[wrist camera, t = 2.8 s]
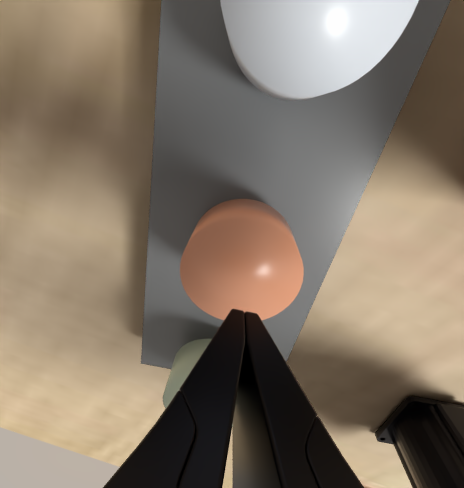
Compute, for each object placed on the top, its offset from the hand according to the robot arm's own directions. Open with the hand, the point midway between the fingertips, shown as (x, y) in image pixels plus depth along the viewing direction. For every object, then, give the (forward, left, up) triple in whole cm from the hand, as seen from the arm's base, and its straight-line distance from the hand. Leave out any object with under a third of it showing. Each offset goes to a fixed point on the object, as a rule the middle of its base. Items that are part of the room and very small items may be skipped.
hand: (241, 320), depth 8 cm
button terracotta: (0, 0, -5) cm, 5 cm away
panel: (0, 0, -8) cm, 8 cm away
